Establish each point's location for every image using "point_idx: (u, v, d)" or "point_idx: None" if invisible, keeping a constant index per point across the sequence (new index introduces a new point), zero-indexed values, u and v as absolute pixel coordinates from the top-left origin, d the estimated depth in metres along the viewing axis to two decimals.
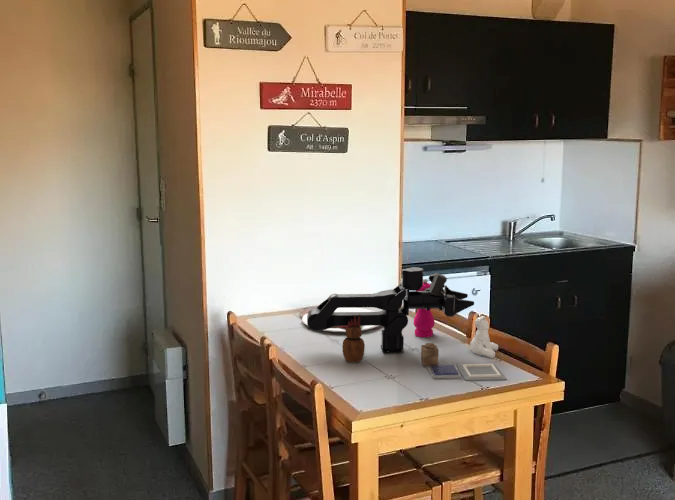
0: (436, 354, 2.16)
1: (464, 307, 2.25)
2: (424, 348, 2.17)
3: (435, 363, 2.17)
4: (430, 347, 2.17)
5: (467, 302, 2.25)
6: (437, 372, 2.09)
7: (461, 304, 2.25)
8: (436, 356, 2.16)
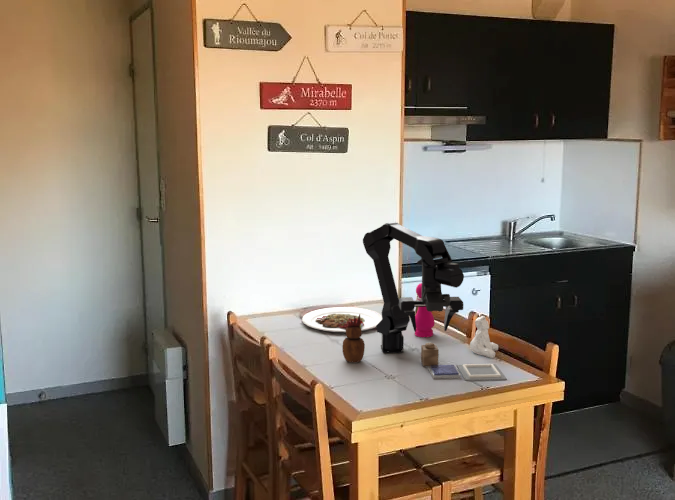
0: (436, 354, 2.16)
1: (411, 320, 2.17)
2: (424, 348, 2.17)
3: (435, 363, 2.17)
4: (430, 347, 2.17)
5: (412, 324, 2.16)
6: (437, 372, 2.09)
7: None
8: (436, 356, 2.16)
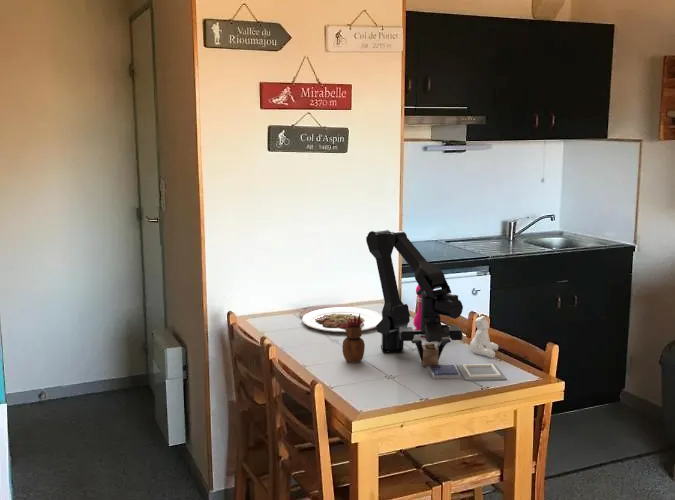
0: (436, 354, 2.16)
1: None
2: (424, 348, 2.17)
3: (435, 363, 2.17)
4: (430, 347, 2.17)
5: (419, 354, 2.18)
6: (437, 372, 2.09)
7: None
8: (436, 356, 2.16)
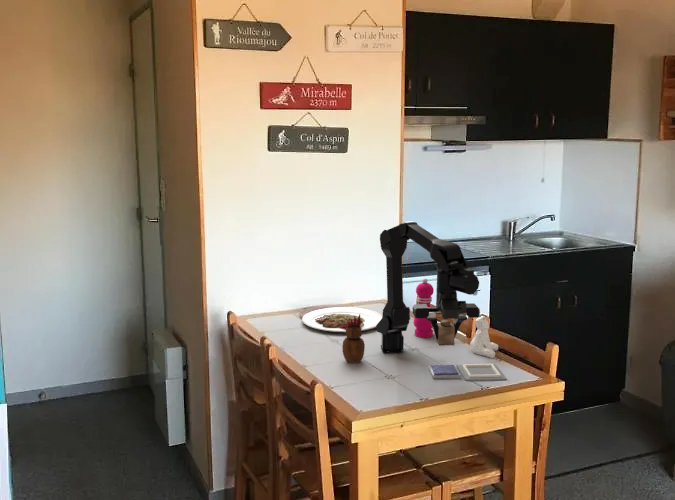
0: (452, 332, 2.07)
1: (432, 327, 2.10)
2: (439, 326, 2.08)
3: (451, 341, 2.07)
4: (446, 325, 2.07)
5: (434, 332, 2.09)
6: (437, 372, 2.09)
7: None
8: (452, 334, 2.07)
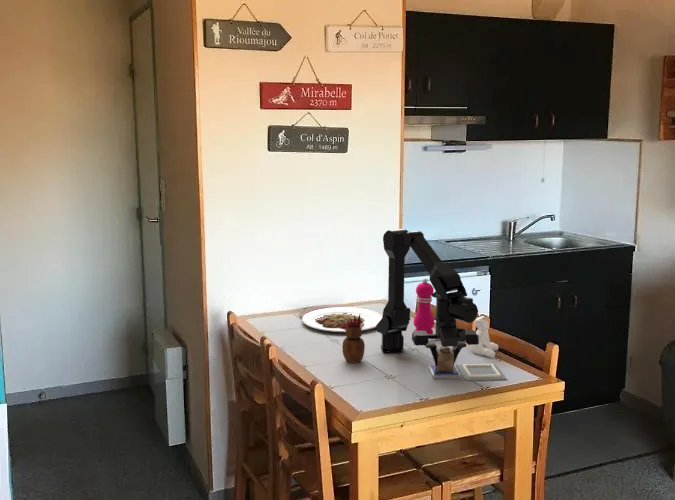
0: (451, 358, 2.08)
1: (432, 353, 2.11)
2: (439, 352, 2.09)
3: (450, 368, 2.09)
4: (445, 351, 2.09)
5: None
6: (437, 372, 2.09)
7: None
8: (451, 360, 2.08)
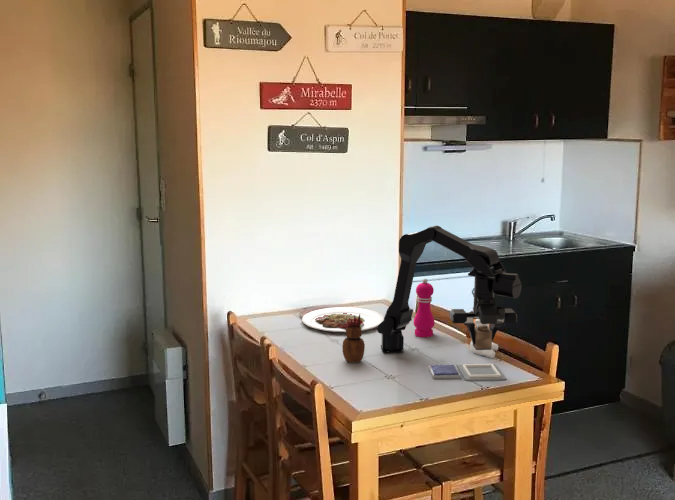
0: (489, 336, 2.08)
1: (469, 332, 2.10)
2: (477, 330, 2.08)
3: (488, 346, 2.08)
4: (483, 329, 2.08)
5: (471, 337, 2.09)
6: (437, 372, 2.09)
7: (470, 330, 2.09)
8: (489, 339, 2.08)
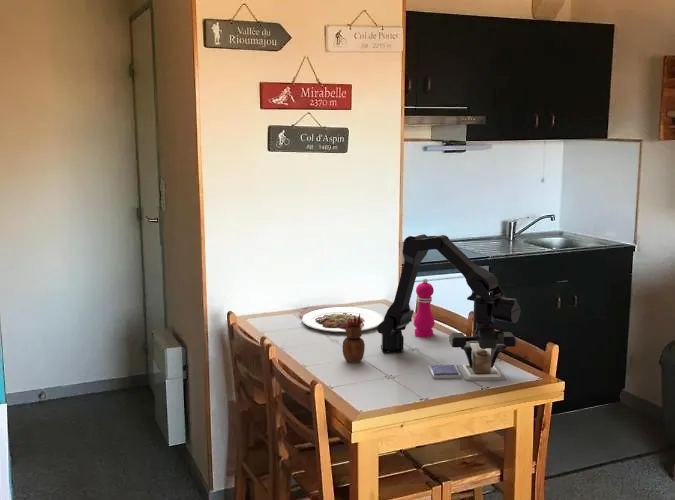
0: (488, 361, 2.09)
1: (466, 355, 2.12)
2: (476, 355, 2.10)
3: (487, 370, 2.09)
4: (482, 354, 2.09)
5: (468, 361, 2.11)
6: (437, 372, 2.09)
7: (467, 353, 2.11)
8: (488, 363, 2.09)
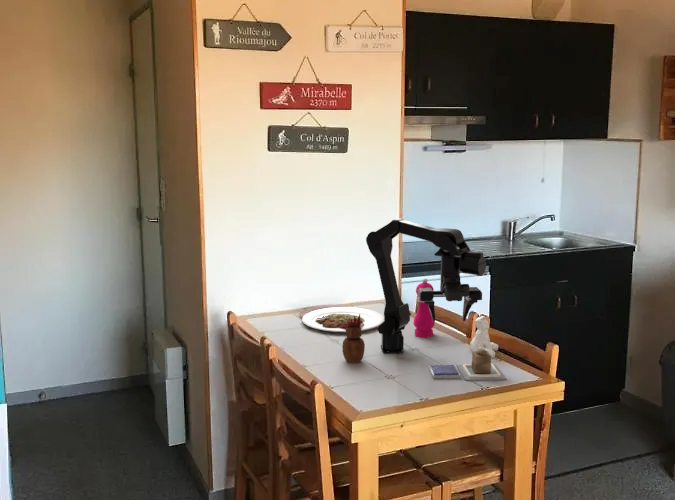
0: (488, 361, 2.09)
1: None
2: (476, 355, 2.10)
3: (487, 370, 2.09)
4: (482, 354, 2.09)
5: (431, 314, 2.18)
6: (437, 372, 2.09)
7: (430, 308, 2.18)
8: (488, 363, 2.09)
